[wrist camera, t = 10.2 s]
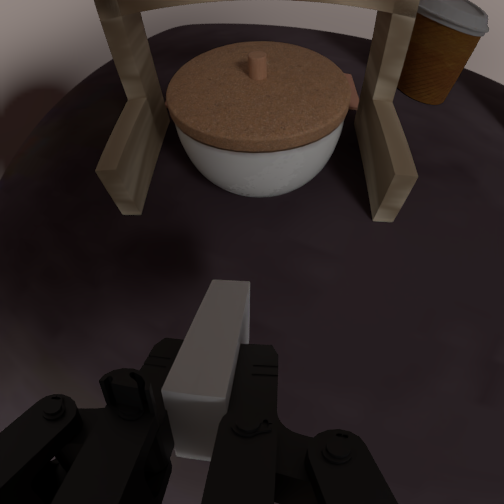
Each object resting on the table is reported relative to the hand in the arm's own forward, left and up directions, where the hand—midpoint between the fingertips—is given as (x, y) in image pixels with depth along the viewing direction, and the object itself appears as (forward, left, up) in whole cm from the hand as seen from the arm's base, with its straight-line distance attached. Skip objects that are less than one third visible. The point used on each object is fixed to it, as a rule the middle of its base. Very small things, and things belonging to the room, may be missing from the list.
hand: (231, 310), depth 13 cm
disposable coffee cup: (-17, -26, -6) cm, 32 cm away
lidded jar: (-1, -13, -6) cm, 14 cm away
